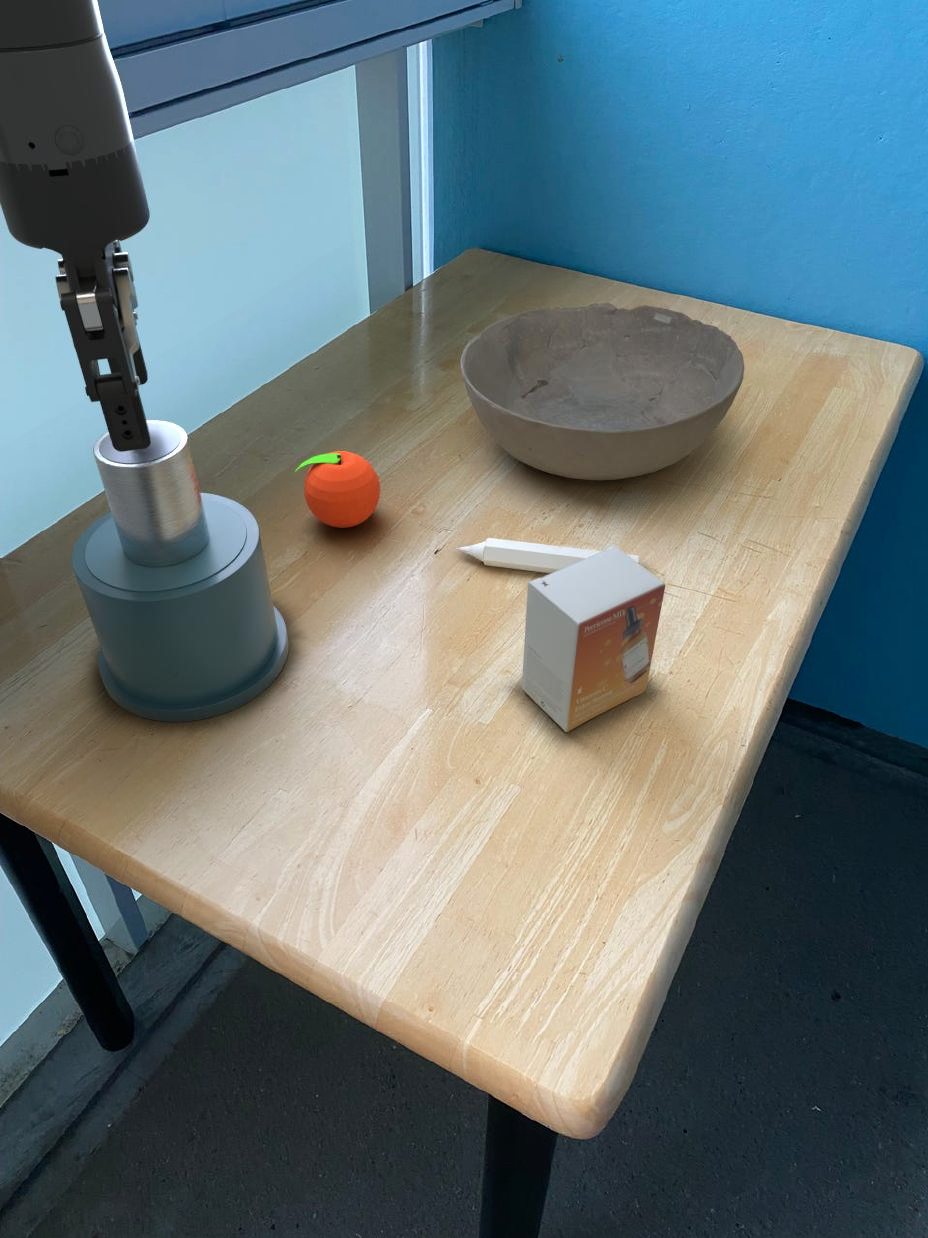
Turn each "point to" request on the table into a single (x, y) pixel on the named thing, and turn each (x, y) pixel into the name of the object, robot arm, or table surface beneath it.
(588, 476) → the bowl
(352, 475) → the clementine
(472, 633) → the table surface
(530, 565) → the white pencil
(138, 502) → the cup
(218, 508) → the blue flanged cylinder
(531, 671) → the small box
